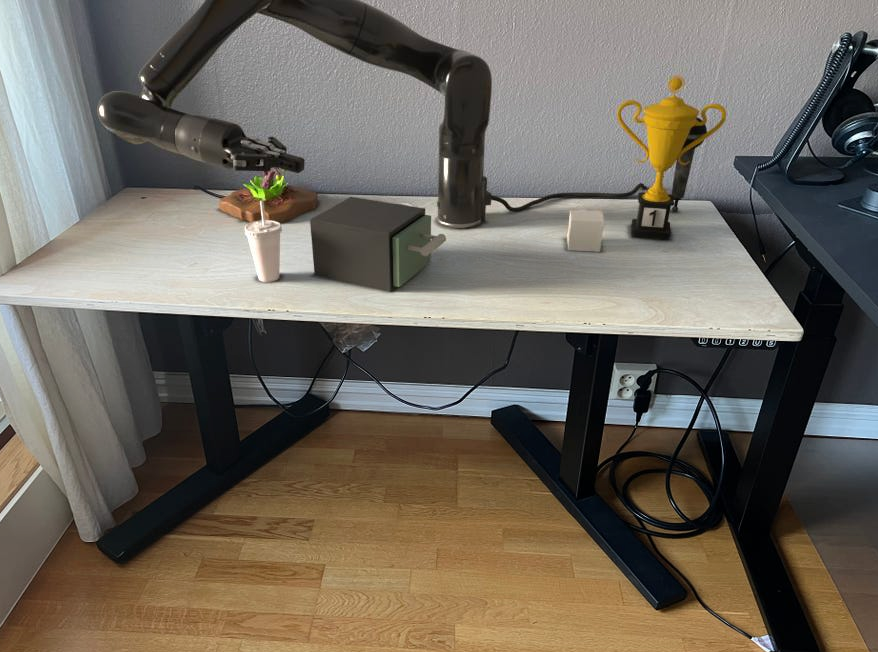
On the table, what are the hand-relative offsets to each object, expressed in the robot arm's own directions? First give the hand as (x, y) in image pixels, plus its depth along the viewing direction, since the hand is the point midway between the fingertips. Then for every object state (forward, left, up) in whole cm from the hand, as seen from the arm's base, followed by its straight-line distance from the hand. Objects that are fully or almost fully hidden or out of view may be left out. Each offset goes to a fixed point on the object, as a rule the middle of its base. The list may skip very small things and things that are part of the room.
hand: (302, 166), depth 116 cm
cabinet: (-11, 0, -20) cm, 23 cm away
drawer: (-14, +3, -20) cm, 24 cm away
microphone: (-82, -2, -21) cm, 85 cm away
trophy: (-69, +6, -21) cm, 72 cm away
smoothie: (+7, -4, -21) cm, 22 cm away
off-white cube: (-53, +6, -21) cm, 57 cm away
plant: (-2, -42, -21) cm, 47 cm away
